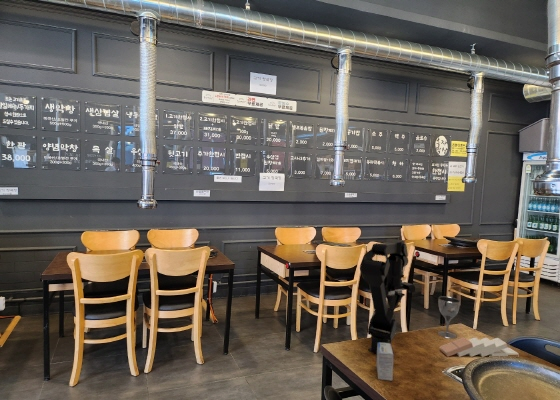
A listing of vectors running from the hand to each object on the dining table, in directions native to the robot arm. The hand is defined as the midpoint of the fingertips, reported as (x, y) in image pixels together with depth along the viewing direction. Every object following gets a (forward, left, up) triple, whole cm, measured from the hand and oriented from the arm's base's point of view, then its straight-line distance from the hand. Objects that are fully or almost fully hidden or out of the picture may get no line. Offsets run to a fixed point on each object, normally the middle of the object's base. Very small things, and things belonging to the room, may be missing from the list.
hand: (392, 310), depth 139 cm
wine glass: (+27, -5, -12) cm, 30 cm away
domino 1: (+10, -16, -11) cm, 22 cm away
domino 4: (+22, -21, -11) cm, 33 cm away
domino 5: (+26, -23, -11) cm, 36 cm away
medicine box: (-21, -18, -12) cm, 30 cm away
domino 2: (+14, -18, -11) cm, 25 cm away
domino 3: (+18, -20, -11) cm, 29 cm away
